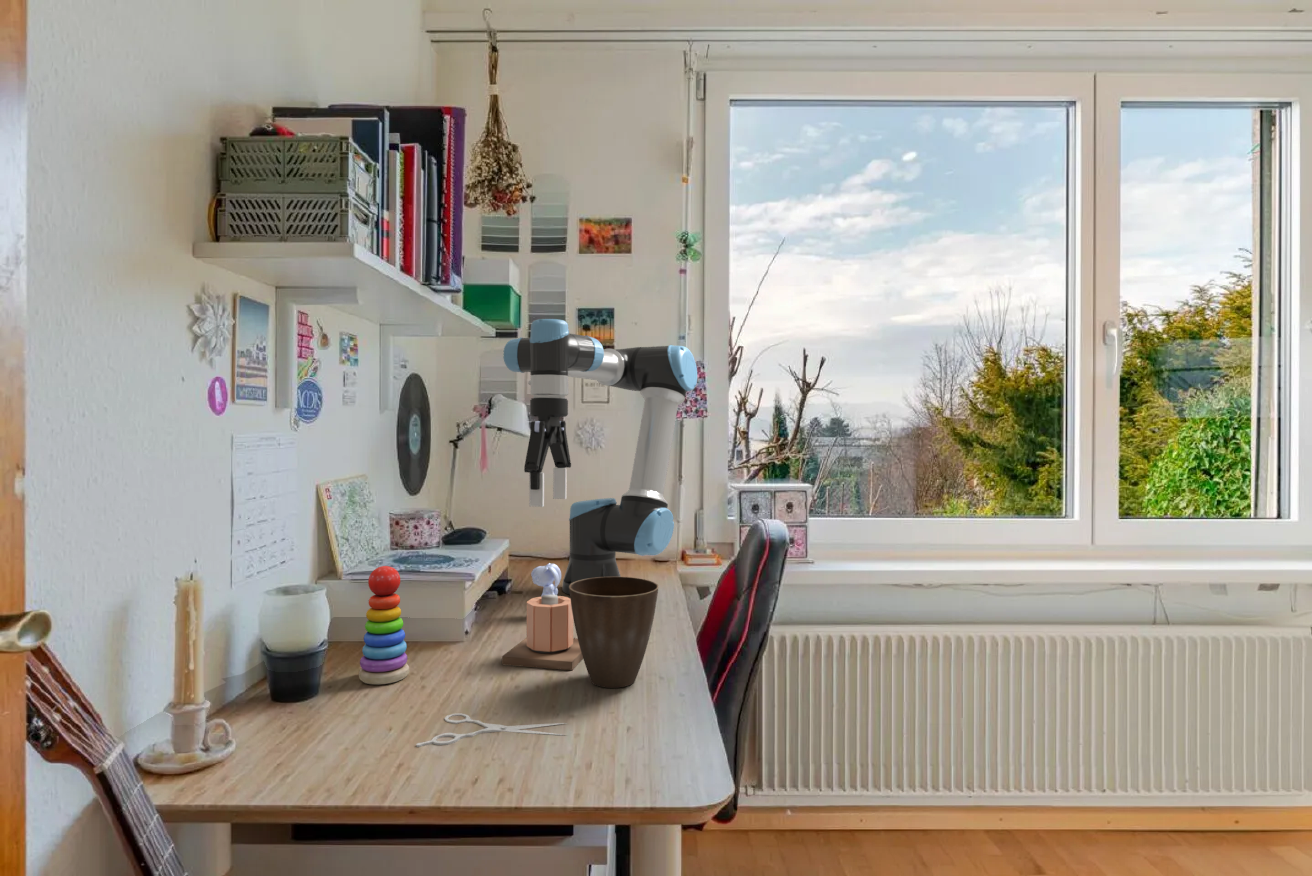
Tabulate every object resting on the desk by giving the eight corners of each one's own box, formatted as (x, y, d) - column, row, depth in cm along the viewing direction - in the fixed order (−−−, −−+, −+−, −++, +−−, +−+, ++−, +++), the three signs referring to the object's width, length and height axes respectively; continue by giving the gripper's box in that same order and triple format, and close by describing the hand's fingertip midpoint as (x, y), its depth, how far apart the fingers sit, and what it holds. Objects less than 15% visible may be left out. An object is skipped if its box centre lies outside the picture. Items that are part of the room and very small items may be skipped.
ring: (537, 636, 140) (537, 594, 140) (577, 639, 138) (577, 597, 138) (521, 649, 132) (521, 605, 132) (563, 652, 130) (563, 607, 130)
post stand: (529, 642, 143) (529, 586, 143) (593, 647, 140) (593, 590, 140) (502, 664, 130) (502, 602, 130) (572, 670, 128) (572, 607, 127)
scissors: (437, 713, 108) (573, 711, 109) (437, 718, 108) (573, 716, 109) (415, 744, 98) (566, 742, 98) (415, 750, 98) (566, 748, 98)
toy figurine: (533, 612, 165) (533, 559, 165) (562, 612, 165) (562, 559, 165) (528, 620, 158) (528, 565, 158) (557, 620, 158) (558, 565, 158)
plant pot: (573, 664, 130) (573, 575, 130) (657, 665, 130) (658, 575, 130) (563, 696, 115) (564, 595, 115) (658, 697, 116) (659, 596, 115)
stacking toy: (418, 677, 123) (418, 566, 123) (372, 690, 118) (372, 574, 117) (395, 666, 129) (395, 560, 128) (350, 677, 123) (350, 566, 122)
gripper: (552, 398, 161) (552, 495, 161) (506, 395, 136) (506, 509, 137) (585, 398, 159) (584, 496, 160) (545, 395, 135) (544, 510, 135)
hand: (548, 502), depth 148 cm, fingers open, 13 cm apart
